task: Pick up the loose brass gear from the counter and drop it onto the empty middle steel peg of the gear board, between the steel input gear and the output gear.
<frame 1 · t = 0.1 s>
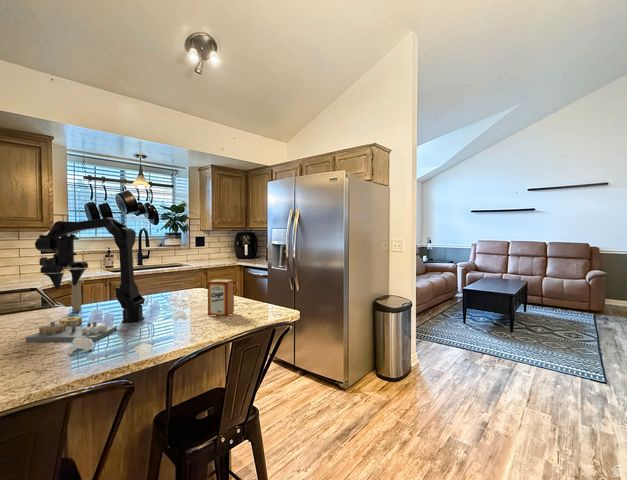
hand: (66, 287, 131), 14 cm above the countertop, fingers open, 9 cm apart
brass gear: (70, 324, 125), on the countertop
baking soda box: (221, 314, 141), on the countertop
gear board: (73, 335, 113), on the countertop
handle: (76, 311, 147), on the countertop
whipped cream: (81, 351, 99), on the countertop
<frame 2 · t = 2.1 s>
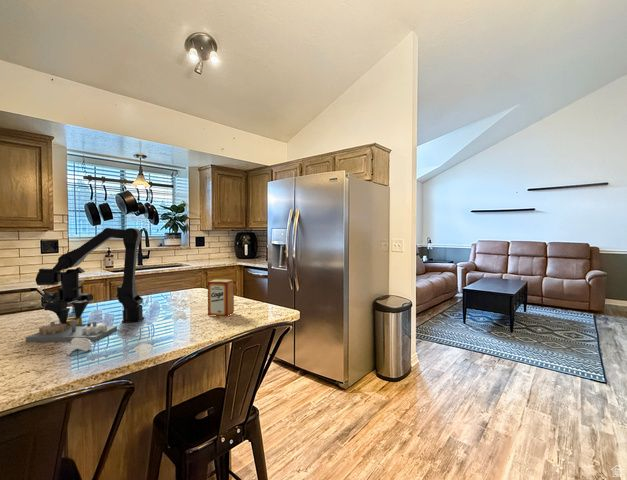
hand: (70, 322, 125), 1 cm above the countertop, fingers closed on brass gear, 7 cm apart
brass gear: (70, 324, 125), on the countertop, touching gripper
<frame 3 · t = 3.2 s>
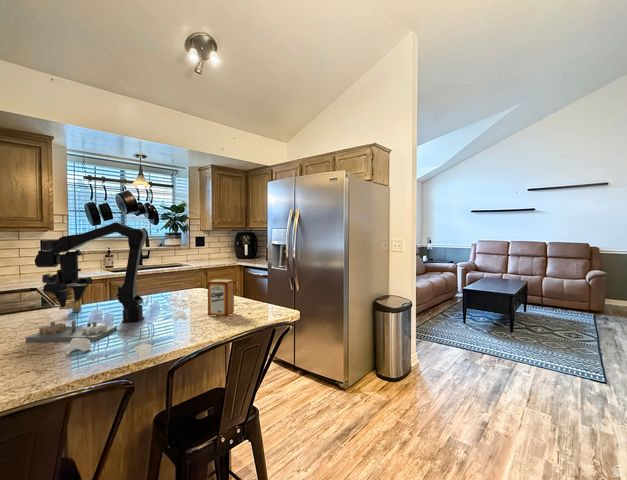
hand: (70, 304, 125), 8 cm above the countertop, fingers closed on brass gear, 7 cm apart
brass gear: (70, 307, 125), point 7 cm above the countertop, touching gripper
everything else where it was.
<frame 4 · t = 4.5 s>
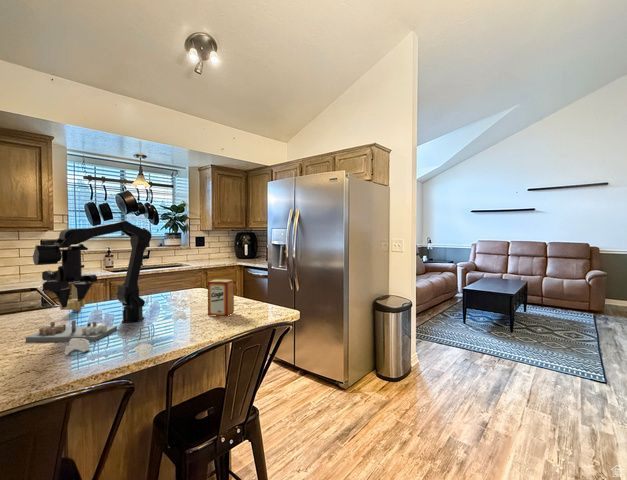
hand: (72, 304, 114), 11 cm above the countertop, fingers closed on brass gear, 7 cm apart
brass gear: (72, 307, 114), point 10 cm above the countertop, touching gripper
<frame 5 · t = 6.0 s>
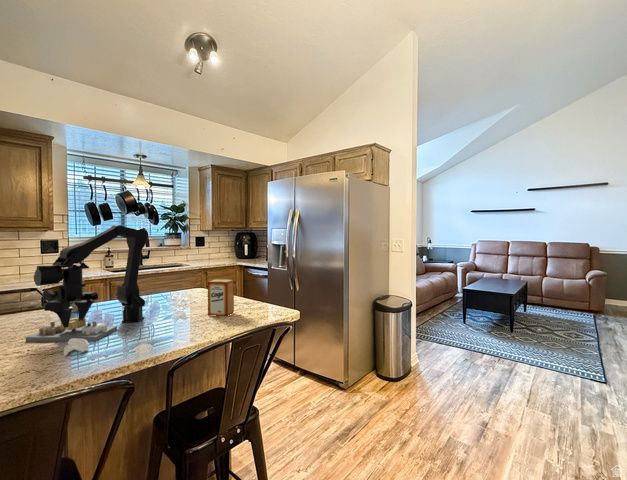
hand: (73, 324, 113), 4 cm above the countertop, fingers closed on brass gear, 7 cm apart
brass gear: (73, 326, 113), point 3 cm above the countertop, touching gripper
when the fingers open (4 cm above the countertop, at t = 7.2 s): brass gear drops 2 cm, resting on gear board.
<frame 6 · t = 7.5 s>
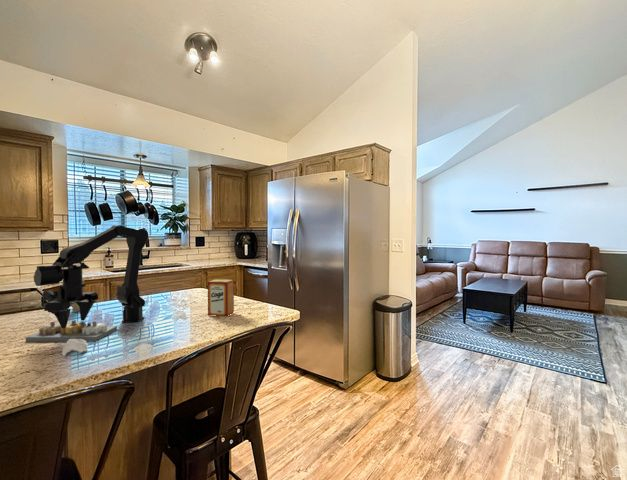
hand: (73, 324, 113), 4 cm above the countertop, fingers open, 9 cm apart
brass gear: (73, 331, 113), point 1 cm above the countertop, touching gear board
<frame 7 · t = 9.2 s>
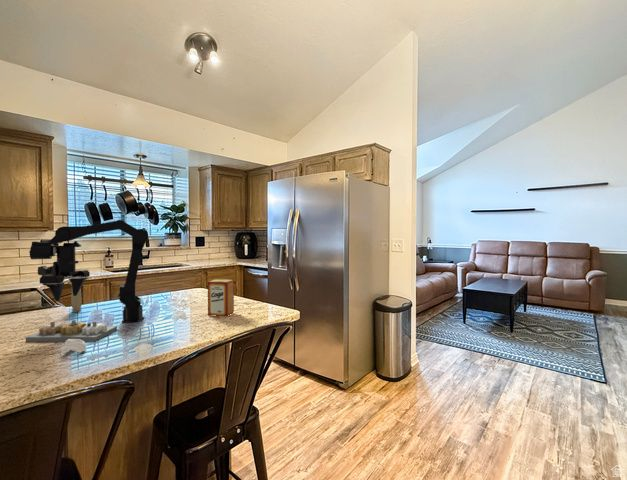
hand: (66, 298, 120), 12 cm above the countertop, fingers open, 9 cm apart
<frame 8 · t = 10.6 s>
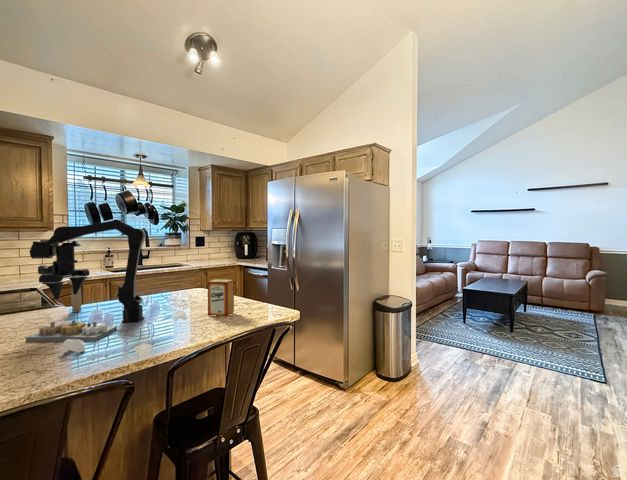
hand: (66, 296, 123), 12 cm above the countertop, fingers open, 9 cm apart
at the end: brass gear 0.0 cm from the gear board (horizontally); brass gear point 1.5 cm above the countertop; brass gear tilted 0° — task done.
